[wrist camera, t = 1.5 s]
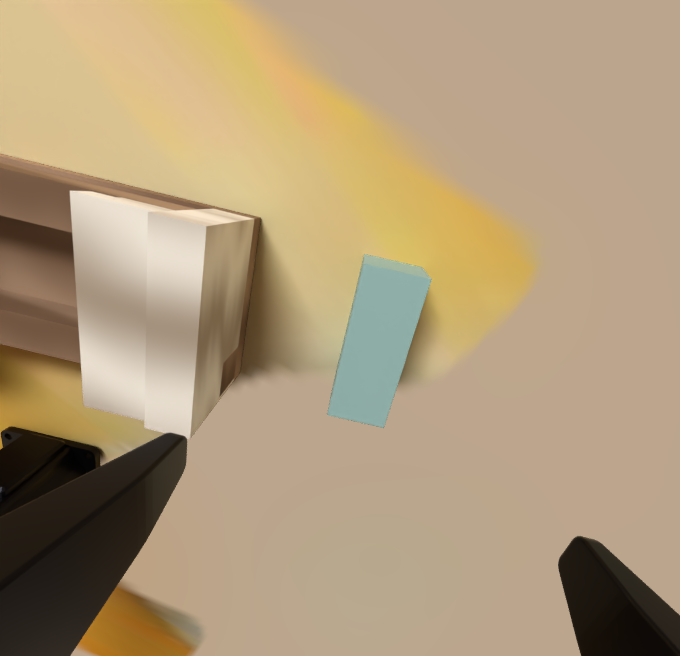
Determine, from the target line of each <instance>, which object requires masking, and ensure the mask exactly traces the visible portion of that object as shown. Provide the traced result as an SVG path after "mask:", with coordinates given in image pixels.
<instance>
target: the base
mask: <svg viewBox="0 0 680 656" xmlns="http://www.w3.org/2000/svg"><path fill="white" fill-rule="evenodd" d="M260 220H261V218H260V217H256V216H251V215H247V214H243V213H239V212H235V211H231V210H227V209H223V208H219V207H215V206H211V205H207V204H203V203H198V202H194V201H190V200H186V199H182V198H178V197H174V196H170V195H166V194H162V193H158V192H154V191H150V190H146V189H141V188H137V187H133V186H129V185H125V184H121V183H117V182H113V181H109V180H105V179H101V178H97V177H93V176H89V175H84V174H80V173H76V172H72V171H68V170H64V169H60V168H56V167H52V166H48V165H44V164H40V163H36V162H31V161H27V160H23V159H19V158H15V157H11V156H7V155H3V154H0V344H2V345H7V346H11V347H15V348H19V349H23V350H27V351H31V352H35V353H40V354H44V355H48V356H52V357H56V358H60V359H64V360H68V361H73V362H77V363H81V372H82V388H83V403H84V406H85V407H89V408H93V409H97V410H101V411H105V412H109V413H114V414H118V415H122V416H126V417H130V418H134V419H138V420H143V421H145V428H146V429H150V430H155V431H159V432H163V433H169V432H171V433H175V434H179V435H183V436H185V437H186V438H188V439H190V438H191V437H192V436H193V434H194V433H195V432H196V430H197V429H198V428H199V426H200V425H201V424H202V422H203V421H204V419H205V418H206V417H207V416H208V414H209V413H210V412H211V410H212V409H213V408H214V406H215V405H216V404H217V402H218V401H219V400H220V398H221V397H222V396H223V394H224V393H225V392H226V391H227V389H228V388H229V387H230V385H231V384H232V383H233V381H234V380H235V379H236V377H237V376H238V375H239V373H240V369H241V362H242V354H243V347H244V340H245V332H246V325H247V317H248V310H249V302H250V295H251V287H252V280H253V273H254V265H255V258H256V250H257V243H258V235H259V228H260Z"/></svg>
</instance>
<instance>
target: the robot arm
mask: <svg viewBox="0 0 680 656" xmlns="http://www.w3.org/2000/svg"><path fill="white" fill-rule="evenodd" d="M1 438H2V444H3V448H2V449H1V450H0V656H70V655H71V654H72V652H73V651H74V649H75V648H76V646H77V645H78V643H79V642H80V640H81V639H82V637H83V636H84V634H85V633H86V631H87V630H88V628H89V627H90V625H91V624H92V622H93V621H94V619H95V618H96V616H97V615H98V613H99V612H100V610H101V609H102V607H103V606H104V604H105V603H106V601H107V600H108V598H109V597H110V595H111V594H112V592H113V591H114V589H115V588H116V586H117V585H118V583H119V582H120V580H121V579H122V577H123V576H124V574H125V573H126V571H127V570H128V568H129V566H130V565H131V564H132V562H133V561H134V559H135V558H136V556H137V555H138V553H139V551H140V550H141V548H142V546H143V545H144V543H145V542H146V540H147V539H148V537H149V535H150V533H151V531H152V530H153V528H154V526H155V524H156V522H157V520H158V519H159V517H160V515H161V513H162V511H163V509H164V507H165V506H166V504H167V502H168V500H169V498H170V496H171V494H172V492H173V491H174V489H175V487H176V485H177V483H178V481H179V480H180V478H181V476H182V474H183V472H184V469H185V466H186V456H187V454H186V453H187V438H186V437H185V436H183V435H179V434H175V433H171V432H169V433H166V434H163V435H161V436H159V437H158V438H156V439H154V440H152V441H150V442H148V443H146V444H144V445H142V446H140V447H138V448H136V449H134V450H132V451H130V452H128V453H126V454H124V455H122V456H120V457H118V458H116V459H114V460H112V461H110V462H108V463H106V464H104V465H102V466H100V452H99V450H98V449H97V448H96V447H94V446H91V445H86V444H82V443H78V442H74V441H70V440H66V439H62V438H57V437H53V436H49V435H45V434H41V433H37V432H32V431H28V430H24V429H20V428H16V427H8V428H6V429H5V430H3V431H2V432H1ZM558 567H559V572H560V577H561V581H562V584H563V588H564V592H565V596H566V600H567V604H568V608H569V612H570V615H571V619H572V623H573V627H574V631H575V635H576V639H577V643H578V646H579V650H580V653H581V656H680V615H679V614H678V613H677V612H675V611H674V610H673V609H672V608H671V607H670V606H669V605H668V604H667V603H666V602H665V601H663V600H662V599H661V598H660V597H659V596H658V595H657V594H656V593H655V592H654V591H653V590H652V589H650V588H649V587H648V586H647V585H646V584H645V583H644V582H643V581H642V580H641V579H640V578H638V577H637V576H636V575H635V574H634V573H633V572H632V571H631V570H630V569H628V567H626V566H625V565H624V564H623V563H622V562H621V561H620V560H619V559H618V558H617V557H615V556H614V555H613V554H612V553H611V552H610V551H609V550H608V549H607V548H606V547H605V546H604V545H602V544H601V543H600V542H598V541H596V540H594V539H589V538H586V537H582V536H577V537H575V538H574V539H573V540H572V541H571V543H570V544H569V545H568V547H567V548H566V550H565V551H564V553H563V554H562V555H561V557H560V559H559V563H558Z"/></svg>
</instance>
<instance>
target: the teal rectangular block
mask: <svg viewBox="0 0 680 656" xmlns="http://www.w3.org/2000/svg"><path fill="white" fill-rule="evenodd" d="M430 283H431V278H430V277H429V275H428V274H427V273H426V272H425V270H424V269H423V268H422V267H419V266H415V265H410V264H406V263H402V262H397V261H393V260H388V259H384V258H380V257H375V256H371V255H367V254H364V257H363V262H362V266H361V270H360V274H359V278H358V283H357V287H356V291H355V295H354V299H353V304H352V308H351V312H350V316H349V320H348V325H347V329H346V333H345V337H344V341H343V346H342V350H341V354H340V358H339V362H338V367H337V371H336V375H335V379H334V383H333V388H332V393H331V398H330V403H329V408H328V413H327V415H329V416H334V417H338V418H342V419H347V420H351V421H356V422H360V423H364V424H369V425H373V426H378V427H382V428H384V426H385V423H386V420H387V416H388V413H389V410H390V407H391V404H392V400H393V398H394V395H395V392H396V388H397V385H398V382H399V379H400V376H401V373H402V370H403V367H404V364H405V360H406V357H407V354H408V351H409V348H410V345H411V342H412V339H413V335H414V332H415V329H416V326H417V323H418V320H419V317H420V314H421V311H422V307H423V304H424V301H425V298H426V295H427V292H428V289H429V286H430Z"/></svg>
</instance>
